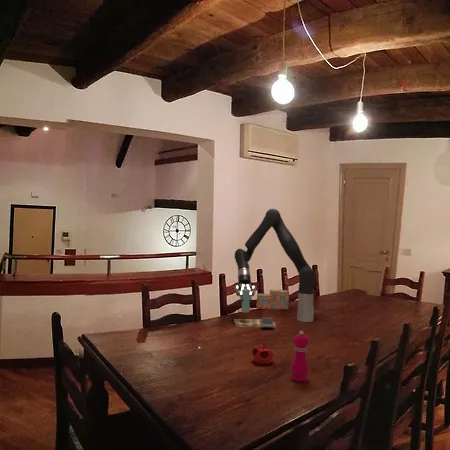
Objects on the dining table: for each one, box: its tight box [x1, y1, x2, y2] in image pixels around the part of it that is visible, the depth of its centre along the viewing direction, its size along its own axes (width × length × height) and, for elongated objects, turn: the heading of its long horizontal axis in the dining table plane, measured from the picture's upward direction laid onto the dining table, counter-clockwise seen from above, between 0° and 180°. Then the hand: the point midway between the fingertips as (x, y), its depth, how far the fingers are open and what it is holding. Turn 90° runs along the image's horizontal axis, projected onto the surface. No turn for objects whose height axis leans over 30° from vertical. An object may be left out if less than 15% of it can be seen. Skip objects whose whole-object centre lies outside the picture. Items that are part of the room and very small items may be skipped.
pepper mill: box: [290, 330, 309, 382], centre depth 183 cm, size 7×7×20 cm
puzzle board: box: [233, 318, 277, 329], centre depth 263 cm, size 23×12×2 cm, turn 95°
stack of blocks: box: [256, 289, 290, 310], centre depth 310 cm, size 21×6×12 cm, turn 97°
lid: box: [260, 317, 275, 328], centre depth 255 cm, size 7×7×4 cm
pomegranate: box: [251, 341, 275, 365], centre depth 201 cm, size 10×10×9 cm
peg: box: [241, 289, 251, 313], centre depth 262 cm, size 4×4×13 cm
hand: (246, 301), depth 260 cm, fingers closed on peg, 4 cm apart
